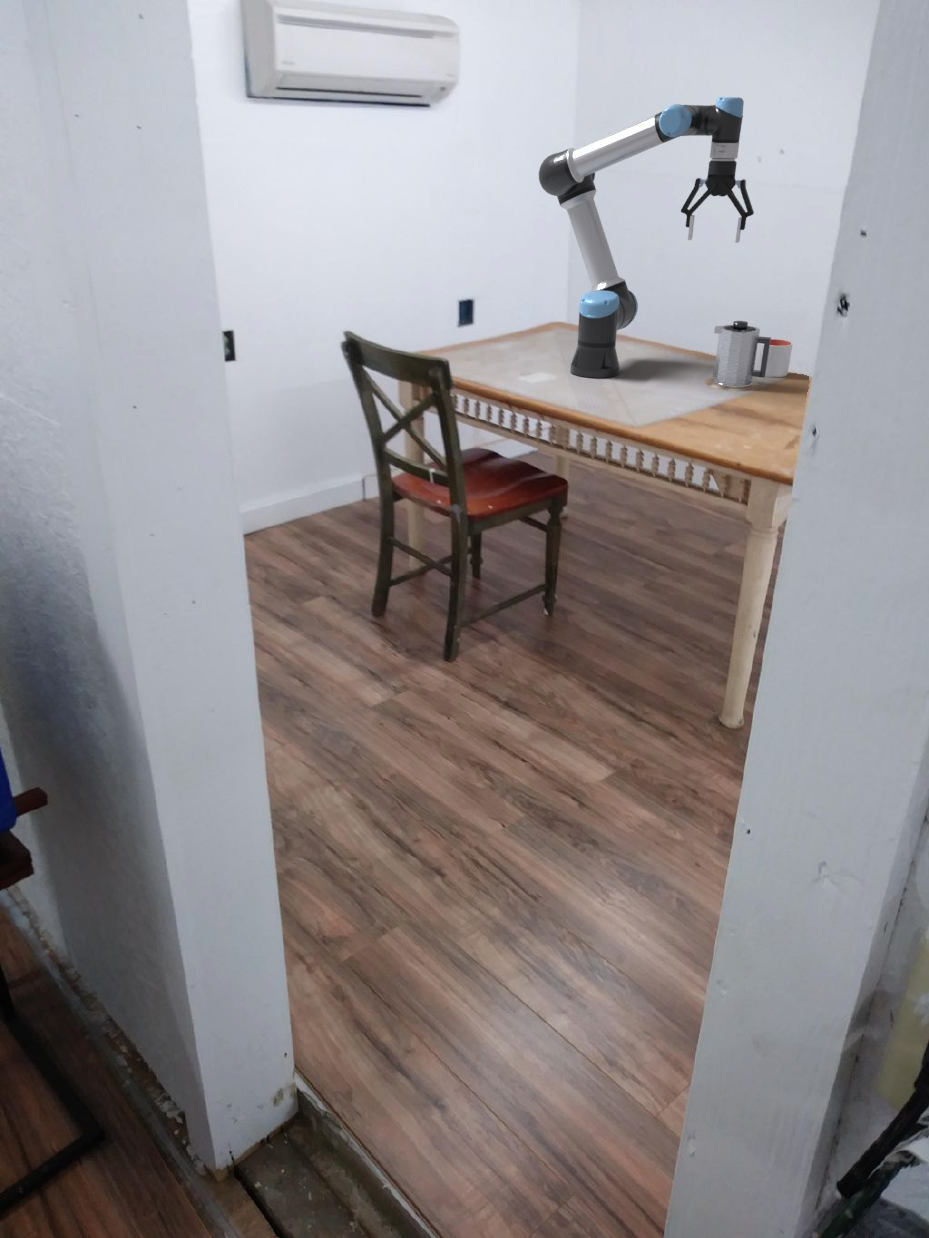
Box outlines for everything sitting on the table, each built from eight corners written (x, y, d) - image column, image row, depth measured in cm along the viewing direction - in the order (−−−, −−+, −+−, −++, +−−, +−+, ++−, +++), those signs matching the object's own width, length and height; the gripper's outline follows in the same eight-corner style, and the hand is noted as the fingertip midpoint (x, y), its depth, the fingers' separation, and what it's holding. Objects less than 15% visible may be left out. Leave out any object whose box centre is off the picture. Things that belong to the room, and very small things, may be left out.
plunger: (719, 361, 279) (724, 323, 274) (723, 355, 285) (728, 318, 280) (747, 363, 276) (753, 325, 271) (751, 358, 282) (756, 320, 277)
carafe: (705, 385, 282) (712, 330, 274) (711, 377, 291) (718, 323, 283) (760, 391, 276) (769, 334, 269) (765, 382, 285) (773, 327, 278)
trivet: (700, 389, 280) (700, 387, 280) (709, 377, 293) (709, 375, 293) (756, 395, 275) (756, 393, 275) (763, 382, 288) (763, 380, 288)
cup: (788, 380, 291) (794, 346, 286) (754, 378, 292) (759, 345, 288) (785, 372, 299) (790, 339, 295) (752, 370, 301) (757, 338, 296)
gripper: (676, 159, 269) (667, 240, 279) (767, 161, 261) (755, 244, 271) (681, 158, 275) (673, 237, 285) (770, 160, 267) (759, 241, 277)
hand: (713, 241), depth 278 cm, fingers open, 13 cm apart
